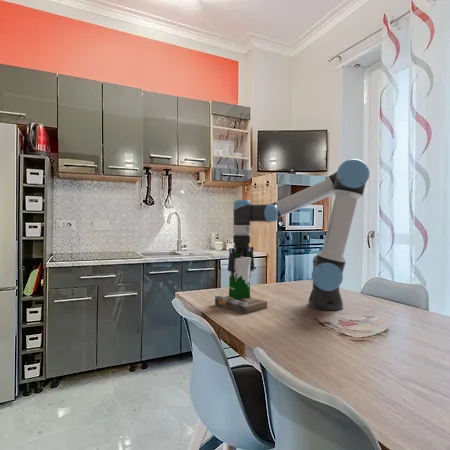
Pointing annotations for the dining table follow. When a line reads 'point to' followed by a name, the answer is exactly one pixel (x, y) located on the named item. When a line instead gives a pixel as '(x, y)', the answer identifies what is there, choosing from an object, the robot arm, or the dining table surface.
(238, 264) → the soya milk
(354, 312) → the dining table surface
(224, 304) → the brown flat box
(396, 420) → the dining table surface
